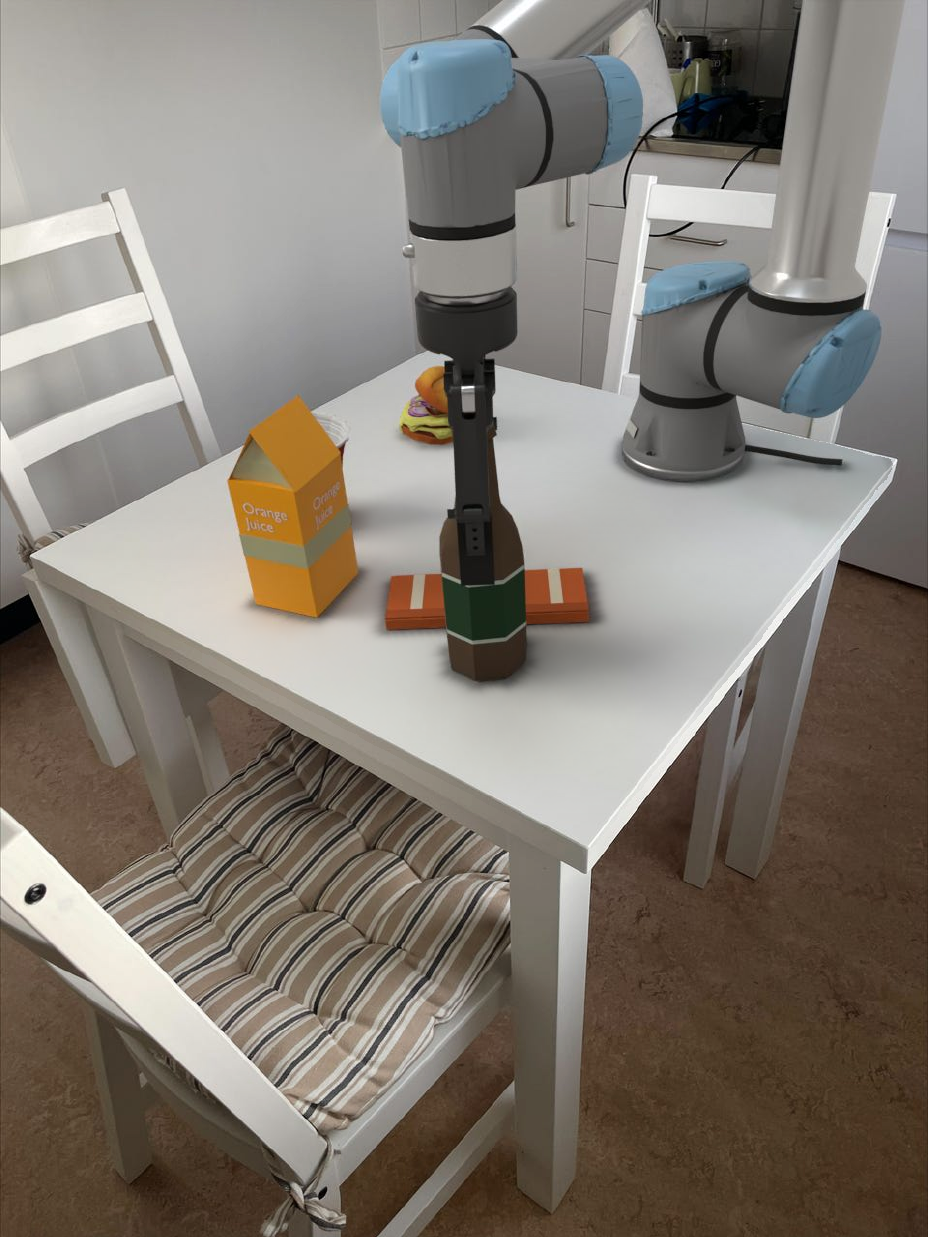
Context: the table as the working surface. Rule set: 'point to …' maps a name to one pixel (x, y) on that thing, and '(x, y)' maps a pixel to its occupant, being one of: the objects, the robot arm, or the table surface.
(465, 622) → the beer bottle
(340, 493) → the orange juice
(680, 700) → the table surface
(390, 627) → the towel
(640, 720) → the table surface
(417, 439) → the cheeseburger
